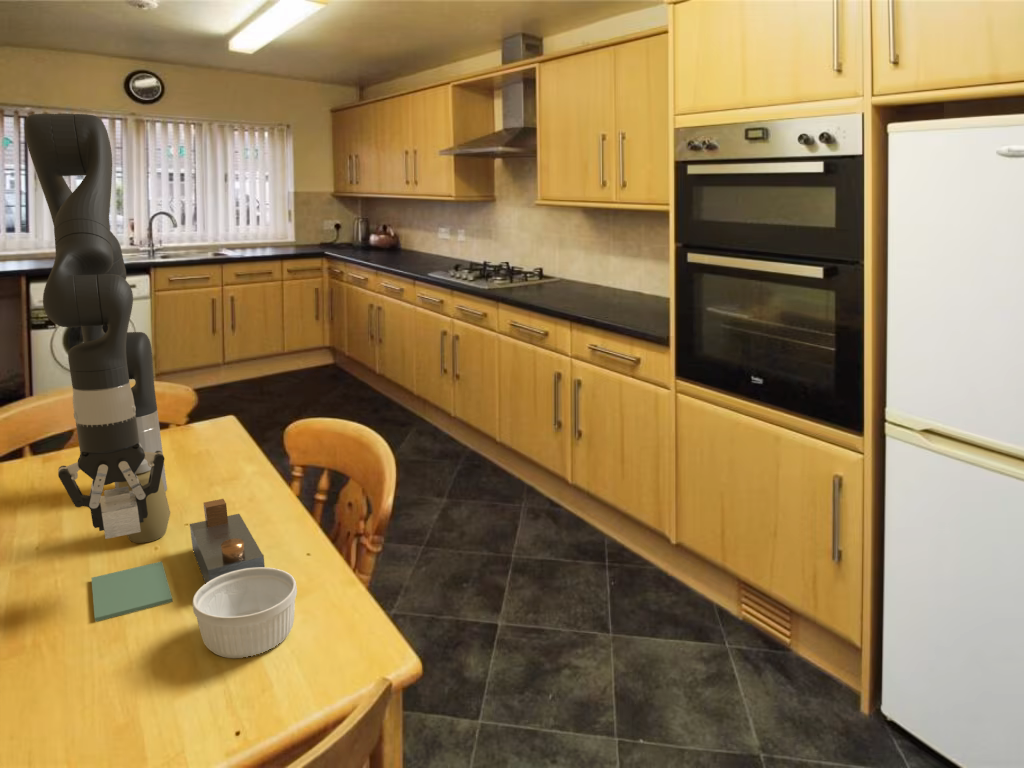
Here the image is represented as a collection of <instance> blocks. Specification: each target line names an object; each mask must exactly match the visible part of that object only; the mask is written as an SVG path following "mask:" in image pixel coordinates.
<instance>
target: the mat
mask: <svg viewBox="0 0 1024 768" xmlns="http://www.w3.org/2000/svg"><path fill="white" fill-rule="evenodd" d="M91 590H92V591H91V592H92V600H93V601H92V602H93V613H94V614H93V615H94V622H95V623H96V622H101V621H105V620H108V619H112V618H117V617H119V616H123V615H128V614H131V613H135V612H139V611H143V610H147V609H150V608H154V607H158V606H162V605H165V604H168V603H169V604H170V603H172V602H173V596H172V592H171V588H170V585H169V581H168V579H167V574H166V572H165V566H164V564H163V561H162V560H161V561H157V562H153V563H149V564H144V565H141V566H137V567H132V568H128V569H123V570H119V571H118V570H117V571H114V572H110V573H106V574H100V575H98V576H93V577H91ZM173 603H174V602H173ZM146 608H147V609H146Z"/></svg>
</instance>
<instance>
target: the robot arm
mask: <svg viewBox="0 0 1024 768" xmlns="http://www.w3.org/2000/svg"><path fill="white" fill-rule="evenodd" d="M23 128H24V136H25V141H26V145H27V149H28V152H29V156H30V158H31V161H32V164H33V167H34V170H35V172H36V176H37V179H38V181H39V185H40V187H41V190H42V192H43V196H44V198H45V201H46V204H47V206H48V209H49V213H50V217H51V220H52V224H53V232H54V233H53V235H54V246H55V248H54V249H55V256H54V262H53V266H52V268H51V270H50V273H49V275H48V278H47V280H46V283H45V286H44V290H43V294H42V295H43V296H42V306H43V307H42V308H43V311H44V312H45V315H46V317H47V318H48V319H49V320H50V321H51V322H52V323H53V324H55V325H57V326H58V327H60V328H61V327H62V328H81V335H82V339H83V342H82V343H79V344H76V345H74V346H72V347H71V348H69V350H68V354H67V361H68V366H69V372H70V373H69V374H70V380H71V384H72V385H71V386H72V405H73V406H72V408H73V418H74V422H75V426H76V433H77V438H78V439H77V440H78V441H77V442H78V446H79V447H78V448H79V453H80V454H79V457H78V459H77V461H76V462H74V463H72V464H69V465H67V466H66V465H61V466H59V467H58V470H57V471H58V472H57V475H58V478H59V480H60V482H61V484H62V485H63V487H64V489H65V491H66V492H67V494H68V496H69V499H70V500H71V502H72V504H73V505H74V506H75V507H76V508H81V507H84V508H85V507H86V508H88V509H89V510H90V516H91V521H92V522H91V523H92V527H93V528H94V529H98V530H99V531H98V532H102V531H103V532H104V525H103V518H102V511H101V503H100V498H101V496H102V494H103V492H104V487H105V486H107V485H111V484H113V483H114V489H116V488H119V483H118V482H126V481H127V482H128V484H129V485H130V487H131V489H132V490H133V492H134V494H135V499H136V503H137V507H138V515H139V522H140V523H142V522H144V521H143V518H147V516H148V512H147V504H146V497H147V496H148V495H150V494H152V493H156V492H157V491H158V489H159V484H160V479H161V477H162V481H163V485H164V489H165V492H166V491H167V490H168V487H167V486H168V484H167V477H166V469H165V460H166V459H165V455H164V453H163V452H164V451H163V445H162V437H161V436H162V435H161V429H160V421H159V414H158V413H159V412H158V404H157V396H156V388H155V379H154V378H155V377H154V362H153V361H154V360H153V349H152V348H153V347H152V345H151V344H152V343H151V340H150V338H149V336H148V335H147V333H145V332H144V331H143V332H142V331H130V332H129V331H128V330H129V326H130V325H129V324H130V320H131V316H132V312H133V311H132V310H133V305H134V292H133V290H132V289H133V288H131V285H130V284H129V282H128V281H127V268H126V265H125V261H124V255H123V251H122V247H121V244H120V241H119V240H118V238H117V237H116V236H115V234H114V233H113V232H112V231H111V226H110V224H111V223H110V207H111V199H112V198H111V196H112V186H113V185H112V183H113V182H112V181H113V155H112V154H113V153H112V146H111V140H110V137H109V133H108V130H107V127H106V125H105V124H104V121H103V120H102V119H101V118H99V117H98V116H97V115H93V114H84V113H33V114H30V115H28V116H26V118H25V121H24V127H23ZM72 176H73V177H74V176H75V177H76V176H77V177H79V176H84V177H83V179H82V181H81V182H80V183H79V185H77V187H76V188H75V189H74V191H72V190H71V188H70V186H68V184H67V182H66V180H65V178H64V177H72ZM103 326H107V330H106V332H105V331H104V329H103ZM130 380H135V383H134V385H133V386H131V383H130ZM139 442H140V443H139ZM140 444H141V446H140ZM141 447H142V448H141ZM144 459H145V460H147V463H148V466H149V467H151V471H150V476H149V481H148V484H146V485H144V486H142V485H141V483H140V481H139V479H138V477H137V475H136V473H135V472H136V471H137V469H138V468H139V466H140V464H141V463H142V461H143V460H144ZM80 470H81V471H82V472H83V473H84V474H85V475H87V476H88V477H89V478H90V479H91V480H92V481H91V488H90V492H89V495H88V494H83V492H82V491H81V489H80V487H79V485H78V483H77V481H76V480H77V479H78V477H79V475H78V472H79V471H80Z"/></svg>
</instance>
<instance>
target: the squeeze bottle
mask: <svg viewBox="0 0 1024 768" xmlns="http://www.w3.org/2000/svg"><path fill="white" fill-rule="evenodd" d="M139 443H140V442H139ZM140 446H141V444H140ZM141 448H142V447H141ZM150 471H151V467H149V466H148V463H147V460H145V459H144V460H143V461H142V463H141V464H140V466H139V468H138V469H137V471H136V472H135V473H136V475H137V477H138V479H139V481H140V483H141V485H142V486H144V485H146V484H148V481H149V476H150ZM118 483H119V488H121V487H127V486H128V488H129V491H133V490H132V489H131V487H130V485H129V484H128V482H127V481H126V482H118ZM134 495H135V494H134ZM146 504H147V512H148V516H147V518H143V521H144V522H142V523H140V530H141V532H137V533H133V534H128V535H126V536H127V538H128V540H129V542H132V543H136V544H137V543H138V544H142V543H149V542H153V541H156V540H159V539H160V538H162V537H164V536H166V532H167V529H168V524H169V522H170V521H169V520H170V517H171V509H170V505H169V502H168V498H167V493H166V491H165V489H164V485H163V481H162V477H161V479H160V484H159V489H158V491H157V492H156V493H152V494H150V495H148V496H147V497H146Z"/></svg>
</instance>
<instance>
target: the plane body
mask: <svg viewBox="0 0 1024 768" xmlns="http://www.w3.org/2000/svg"><path fill="white" fill-rule="evenodd" d="M203 510H204V512H203V513H204V520H202V521H197V522H192V523H189V529H190V538H191V546H192V552H193V551H194V552H193V555H194V554H195V555H194V558H195V557H196V558H195V560H196V563H197V562H198V563H197V566H198V565H199V566H198V568H199V567H200V568H199V571H200V570H201V571H200V573H202V574H201V576H202V575H203V576H202V579H203V578H204V579H203V581H205V582H204V584H205V583H207V582H209V581H210V580H212V579H214V578H216V577H218V576H221V575H223V574H226V573H229V572H232V571H236V570H241V569H246V568H256V567H266V565H265V556H264V554H263V552H262V551H261V549H260V547H259V545H258V544H257V542H256V539H254V537H253V535H252V533H251V531H250V530H249V528H248V527H247V525H246V522H244V519H243V517H242V516H241V513H236V514H231V515H228V510H227V502H226V500H225V499H224V498H220V499H215V500H210V501H204V502H203Z"/></svg>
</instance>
